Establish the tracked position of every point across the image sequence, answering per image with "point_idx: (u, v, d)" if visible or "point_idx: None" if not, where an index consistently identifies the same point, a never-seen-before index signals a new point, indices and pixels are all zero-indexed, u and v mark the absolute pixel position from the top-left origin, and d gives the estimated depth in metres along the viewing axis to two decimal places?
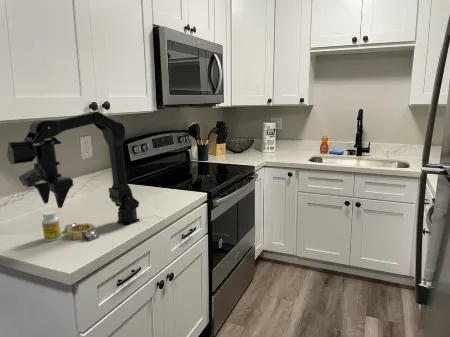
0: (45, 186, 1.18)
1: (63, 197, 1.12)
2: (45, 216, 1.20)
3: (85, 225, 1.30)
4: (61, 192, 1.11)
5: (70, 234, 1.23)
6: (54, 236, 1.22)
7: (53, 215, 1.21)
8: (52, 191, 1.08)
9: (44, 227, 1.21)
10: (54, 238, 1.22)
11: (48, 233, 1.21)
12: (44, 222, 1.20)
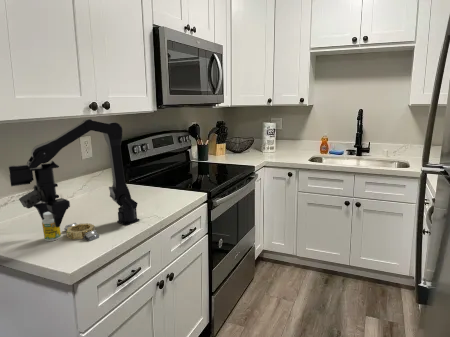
0: (44, 206, 1.25)
1: (60, 217, 1.20)
2: (45, 216, 1.20)
3: (85, 225, 1.30)
4: (59, 212, 1.19)
5: (70, 234, 1.23)
6: (54, 236, 1.22)
7: None
8: (50, 212, 1.16)
9: (44, 227, 1.21)
10: (54, 238, 1.22)
11: (48, 233, 1.21)
12: (44, 222, 1.20)
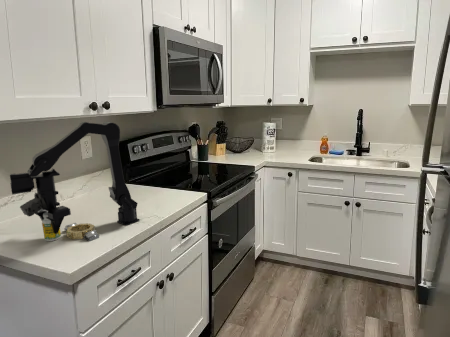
0: None
1: (58, 224, 1.21)
2: (45, 216, 1.20)
3: (85, 225, 1.30)
4: (57, 219, 1.20)
5: (70, 234, 1.23)
6: (54, 236, 1.22)
7: None
8: (48, 219, 1.18)
9: (44, 227, 1.21)
10: (54, 238, 1.22)
11: (48, 233, 1.21)
12: (44, 222, 1.20)
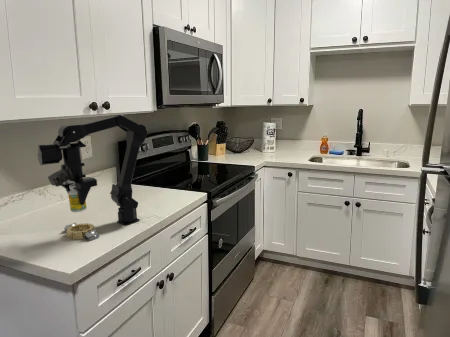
0: None
1: (85, 195, 1.23)
2: (71, 187, 1.22)
3: (85, 225, 1.30)
4: (83, 190, 1.22)
5: (70, 234, 1.23)
6: (80, 207, 1.23)
7: None
8: (75, 189, 1.19)
9: (70, 198, 1.22)
10: (80, 209, 1.23)
11: (75, 204, 1.22)
12: (71, 193, 1.22)
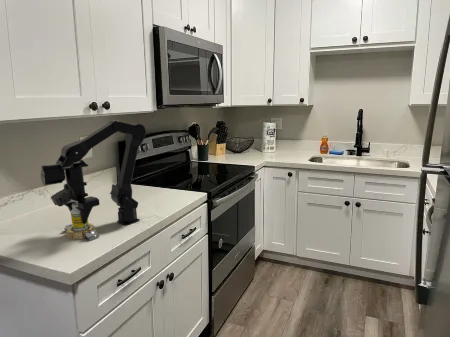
0: None
1: (87, 214, 1.24)
2: (74, 206, 1.23)
3: None
4: (85, 209, 1.23)
5: (70, 234, 1.23)
6: (82, 226, 1.25)
7: None
8: (78, 209, 1.20)
9: (73, 217, 1.24)
10: (82, 228, 1.25)
11: (77, 223, 1.24)
12: (73, 212, 1.23)
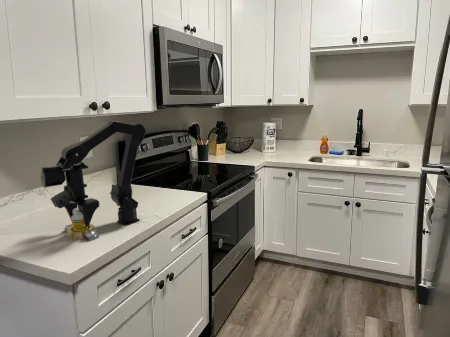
0: (73, 206, 1.29)
1: (90, 217, 1.23)
2: (75, 212, 1.24)
3: None
4: (88, 212, 1.22)
5: (70, 234, 1.23)
6: None
7: None
8: (81, 212, 1.19)
9: (74, 223, 1.24)
10: None
11: (78, 229, 1.24)
12: (74, 218, 1.24)
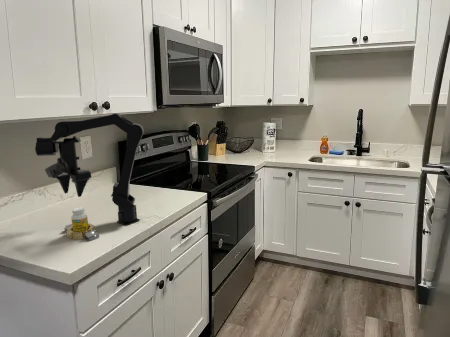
0: (65, 178, 1.35)
1: (82, 187, 1.30)
2: (75, 212, 1.24)
3: None
4: (81, 183, 1.29)
5: (70, 234, 1.23)
6: None
7: (82, 211, 1.25)
8: (73, 182, 1.26)
9: (73, 223, 1.24)
10: None
11: (77, 229, 1.24)
12: (74, 218, 1.24)
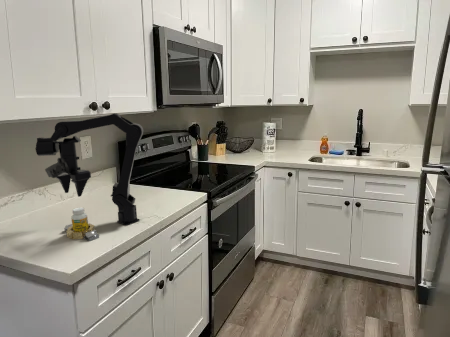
0: (66, 178, 1.36)
1: (82, 187, 1.30)
2: (75, 212, 1.24)
3: None
4: (80, 183, 1.30)
5: (70, 234, 1.23)
6: None
7: (82, 211, 1.25)
8: (73, 182, 1.27)
9: (74, 223, 1.24)
10: None
11: (77, 229, 1.24)
12: (74, 218, 1.24)
